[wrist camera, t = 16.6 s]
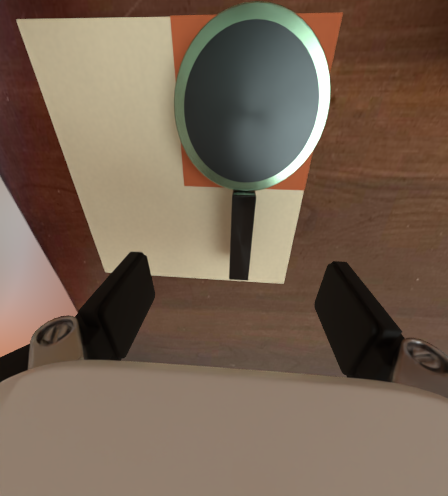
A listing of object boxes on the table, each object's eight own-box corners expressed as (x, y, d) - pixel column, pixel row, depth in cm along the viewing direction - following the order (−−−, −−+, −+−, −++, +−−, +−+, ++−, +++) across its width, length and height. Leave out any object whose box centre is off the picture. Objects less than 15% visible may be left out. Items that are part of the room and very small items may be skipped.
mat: (107, 269, 26) (104, 273, 25) (23, 22, 14) (13, 17, 14) (282, 280, 24) (283, 284, 24) (338, 17, 13) (343, 12, 12)
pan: (284, 259, 22) (292, 283, 18) (194, 254, 22) (185, 277, 19) (332, 24, 13) (366, -15, 9) (178, 26, 13) (156, -10, 10)
